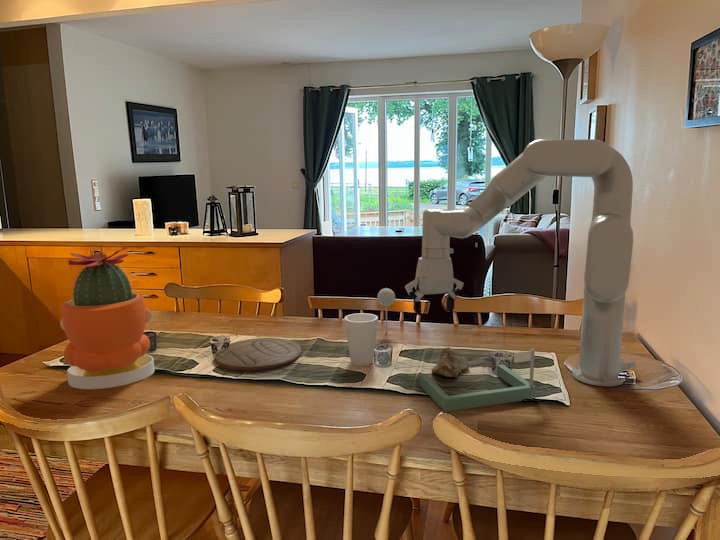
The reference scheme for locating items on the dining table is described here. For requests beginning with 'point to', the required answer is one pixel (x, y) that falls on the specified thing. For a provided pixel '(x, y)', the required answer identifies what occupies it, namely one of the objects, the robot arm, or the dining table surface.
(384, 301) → the lollipop
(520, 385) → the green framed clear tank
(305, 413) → the dining table surface
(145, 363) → the potted cactus
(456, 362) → the decorative stone
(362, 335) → the foam cup
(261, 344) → the trivet
